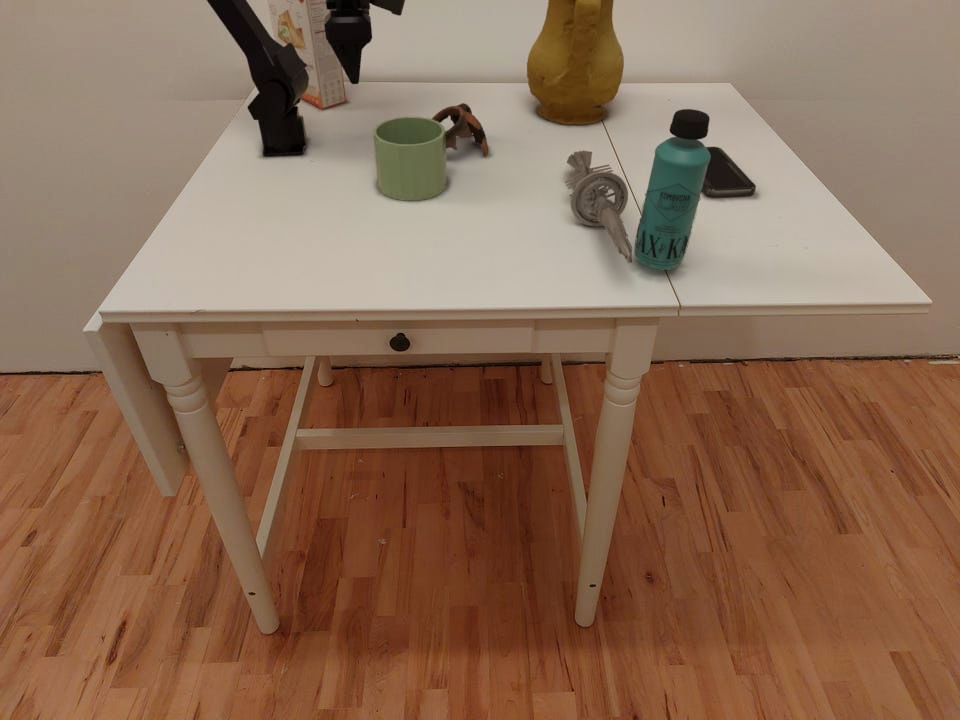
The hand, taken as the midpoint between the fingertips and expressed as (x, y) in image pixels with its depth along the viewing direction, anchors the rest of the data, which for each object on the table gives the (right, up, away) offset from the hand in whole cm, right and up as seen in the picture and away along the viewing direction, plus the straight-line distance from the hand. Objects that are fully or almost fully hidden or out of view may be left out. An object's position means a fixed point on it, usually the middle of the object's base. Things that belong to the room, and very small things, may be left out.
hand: (354, 73), depth 101 cm
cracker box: (-13, +7, +28) cm, 31 cm away
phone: (+56, -14, +5) cm, 58 cm away
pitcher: (+35, +2, +23) cm, 42 cm away
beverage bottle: (+42, -32, -15) cm, 55 cm away
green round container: (+9, -17, +1) cm, 19 cm away
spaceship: (+35, -25, -7) cm, 44 cm away
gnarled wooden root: (+16, -8, +11) cm, 21 cm away
